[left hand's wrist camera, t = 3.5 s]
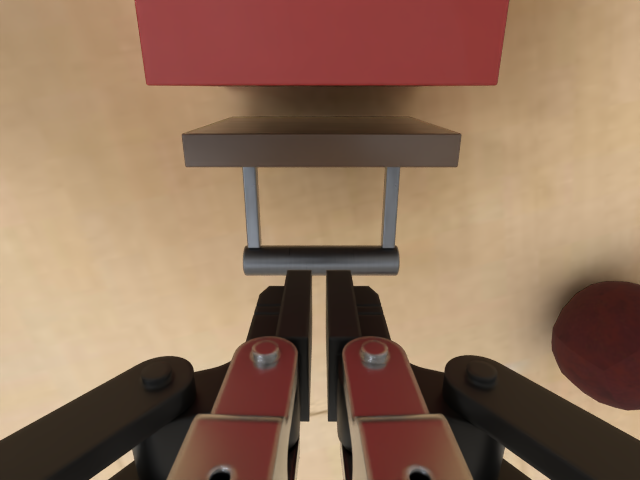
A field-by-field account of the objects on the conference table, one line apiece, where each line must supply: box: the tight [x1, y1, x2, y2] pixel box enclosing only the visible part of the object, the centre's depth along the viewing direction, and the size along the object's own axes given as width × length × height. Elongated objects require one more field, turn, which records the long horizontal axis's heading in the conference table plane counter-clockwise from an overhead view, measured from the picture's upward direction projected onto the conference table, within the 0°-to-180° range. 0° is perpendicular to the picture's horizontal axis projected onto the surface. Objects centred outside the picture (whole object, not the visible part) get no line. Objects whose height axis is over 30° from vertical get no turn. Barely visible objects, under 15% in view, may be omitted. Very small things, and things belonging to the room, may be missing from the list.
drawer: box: [182, 117, 461, 275], centre depth 17 cm, size 22×10×9 cm, turn 0°
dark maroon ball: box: [552, 281, 640, 410], centre depth 25 cm, size 7×8×7 cm
